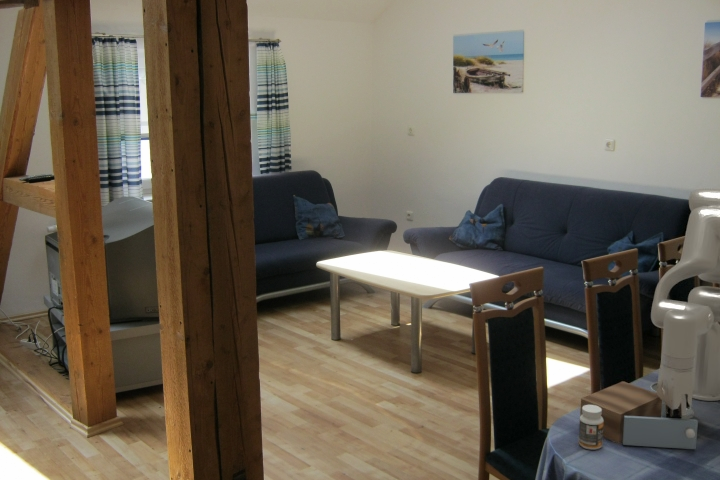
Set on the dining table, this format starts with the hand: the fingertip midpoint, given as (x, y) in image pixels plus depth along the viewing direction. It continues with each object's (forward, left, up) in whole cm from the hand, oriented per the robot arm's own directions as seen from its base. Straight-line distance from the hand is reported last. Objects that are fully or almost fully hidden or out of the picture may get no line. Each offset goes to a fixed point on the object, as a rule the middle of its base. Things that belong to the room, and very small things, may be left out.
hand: (672, 428), depth 185 cm
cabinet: (+2, -14, -4) cm, 14 cm away
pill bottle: (+17, -12, -4) cm, 21 cm away
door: (+6, 0, -3) cm, 6 cm away
